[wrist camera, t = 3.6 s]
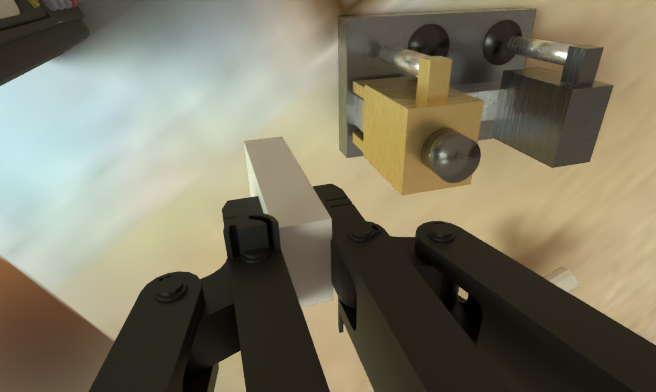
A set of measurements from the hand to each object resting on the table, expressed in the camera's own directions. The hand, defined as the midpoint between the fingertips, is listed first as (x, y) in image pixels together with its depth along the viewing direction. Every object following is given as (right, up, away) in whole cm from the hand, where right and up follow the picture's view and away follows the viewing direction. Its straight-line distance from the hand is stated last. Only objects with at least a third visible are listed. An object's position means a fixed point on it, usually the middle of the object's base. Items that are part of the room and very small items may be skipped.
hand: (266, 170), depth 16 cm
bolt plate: (+9, +7, +10) cm, 15 cm away
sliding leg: (+6, +5, +7) cm, 10 cm away
